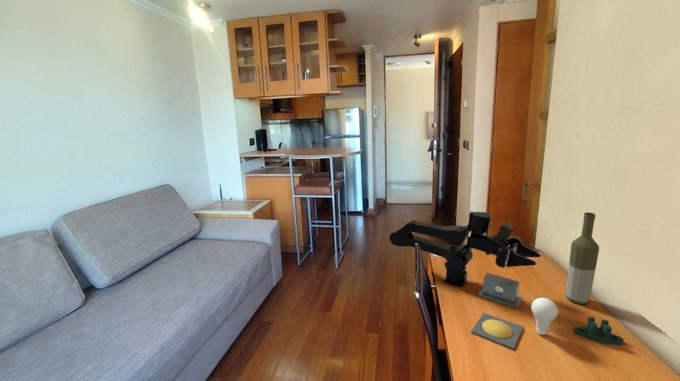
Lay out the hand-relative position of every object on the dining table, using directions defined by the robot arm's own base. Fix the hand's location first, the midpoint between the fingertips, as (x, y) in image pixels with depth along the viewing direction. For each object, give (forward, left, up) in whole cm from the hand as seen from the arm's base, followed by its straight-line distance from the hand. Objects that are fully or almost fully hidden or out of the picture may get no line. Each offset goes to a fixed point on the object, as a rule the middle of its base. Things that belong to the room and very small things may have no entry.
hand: (537, 259), depth 98 cm
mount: (+17, -6, -17) cm, 24 cm away
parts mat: (-5, -20, -16) cm, 26 cm away
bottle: (+11, +12, -16) cm, 23 cm away
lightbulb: (+5, -14, -16) cm, 22 cm away
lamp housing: (-9, -2, -16) cm, 19 cm away
